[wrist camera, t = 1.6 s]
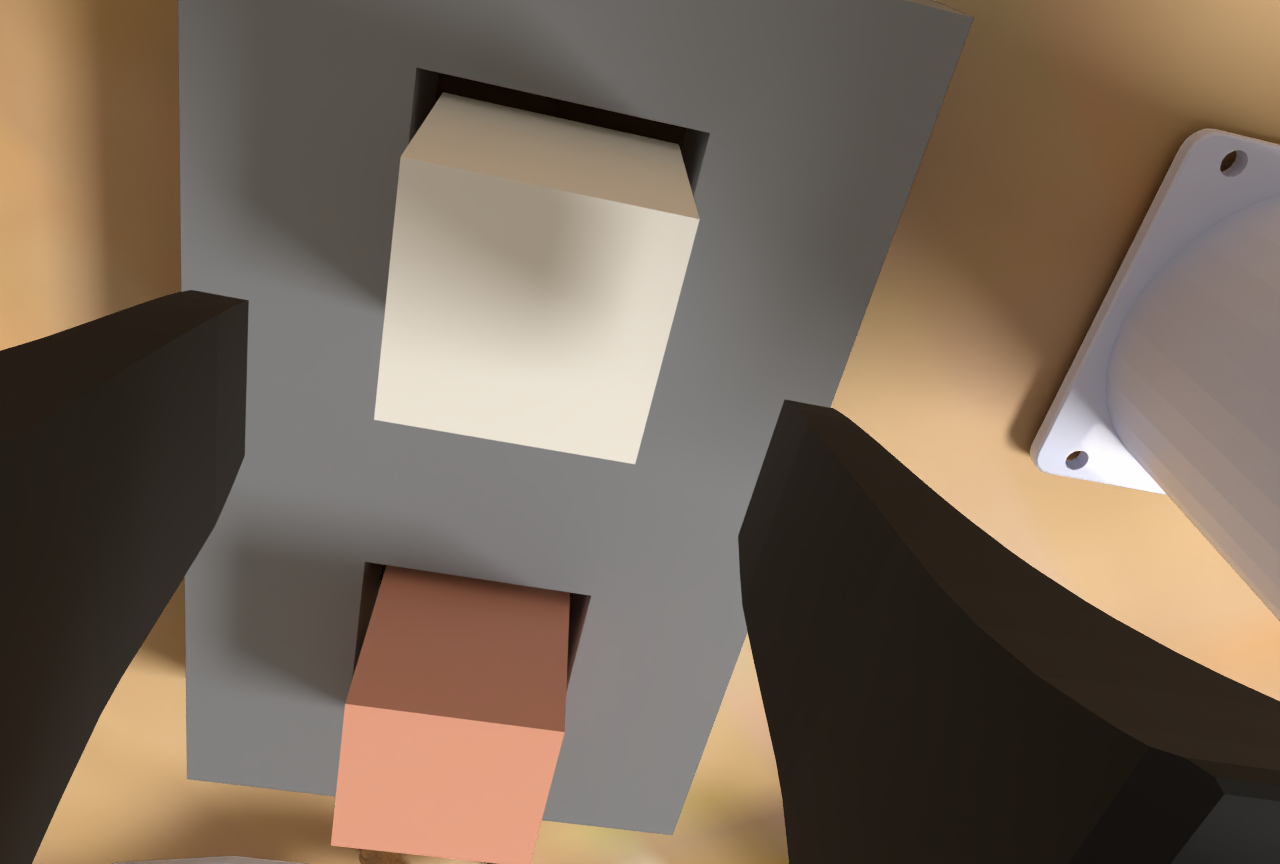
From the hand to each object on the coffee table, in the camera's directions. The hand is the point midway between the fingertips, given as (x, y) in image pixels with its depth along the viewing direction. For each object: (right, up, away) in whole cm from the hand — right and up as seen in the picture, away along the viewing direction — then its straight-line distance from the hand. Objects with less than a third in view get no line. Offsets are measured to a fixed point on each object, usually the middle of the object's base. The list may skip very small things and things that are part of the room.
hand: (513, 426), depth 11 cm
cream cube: (0, +4, +6) cm, 7 cm away
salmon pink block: (-2, -5, +11) cm, 12 cm away
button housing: (-1, +1, +11) cm, 11 cm away
